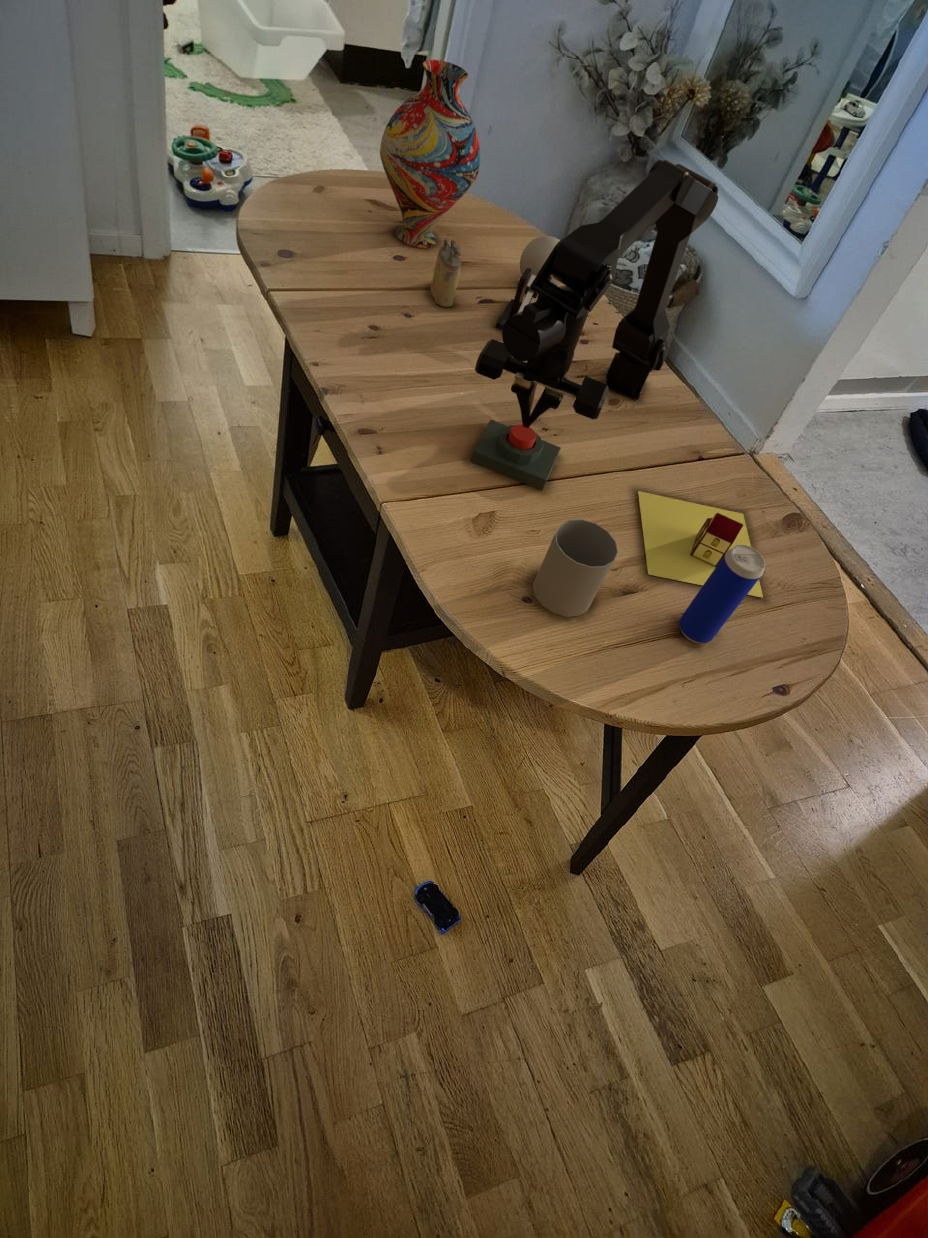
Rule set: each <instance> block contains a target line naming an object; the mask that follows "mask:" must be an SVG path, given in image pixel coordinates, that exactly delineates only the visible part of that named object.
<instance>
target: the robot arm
mask: <svg viewBox="0 0 928 1238" xmlns="http://www.w3.org/2000/svg"><path fill="white" fill-rule="evenodd" d="M718 201H719V187H718V186H717V184H716V182H713V181H712V180H710V179H709V178H707V177H705V176H702V175H701V174H699V173H697V172H695V171H693V170H692V169H690V168H688V167H687V166H685V165H683V164H681V163H677V164H674V163H672V162H671V161H669V160H667V159H664V160H663V159H658V160H657V161H656V162H655V163H653V164H652V166H651V168H650V170H649V172H648V174H647V175H646V177H645V178H644V179H643V180H642V181H641V182H639V183H638V184H637V185H636V186H635V187H634V188H633V189H632V190H631V191H630V192H629V193H628V194H627V195H626V196H625V197H624V198H622V200H621V201H620V202H618V204H616V205H615V206H614V207H613V209H611V210H610V211H609V212H608V213H607V214H606V215H605V216H604V217H603V218H601V220H599V221H597V222H594V223H593V222H592V223H587V224H581V225H580V226H578V227H577V228H575V229H574V230H572V231H571V232H569V234H567V235H566V236H565V237H564V238H561V239H559V240H560V241H559V242H558V243H557V244H556V246H555V247H554V249H553V250H552V252H551V253H550V255H549V257H548V258H547V260H546V261H545V263H544V265H543V266H542V268H541V269H540V271H539V273H538V274H537V276H536V277H535V279H534V280H533V282H532V284H531V285H530V289H531V290H532V291H534V292H536V293H537V294H539V295H537V297H536V301H534V302H530V304H528V305H525V306H524V308H523V311H521V312H519V313H517V314H515V315H513V316H511V317H510V318H509V319H508V320H507V321H506V322H505V323H504V325H503V329H502V330H501V338H502V341H499V340H497V339H495V338H492V339H490V340H488V341H487V342H486V343H485V345H484V347H483V348H482V350H481V351H480V353H479V354H478V357H477V359H476V363H475V367H474V371H475V373H476V374H478V375H480V376H483V377H486V378H488V379H490V380H493V381H494V380H497V379H499V378H501V377H502V375H503V371H506V372H509V373H511V374H513V375H514V381H513V382H512V384H511V387H510V392H512V393H513V394H515V395H516V399H517V403H518V405H519V410H520V417H521V422H522V424H521V425H523V427H526V428H529V427H530V428H531V426H532V425H533V423H534V422H535V421H537V419H539V417H540V416H541V415H543V414H545V412H547V411H548V410H550V409H553V410H558V409H559V407H560V405H561V403H562V401H563V398H564V397H565V396H567V397H569V398H572V399H574V401H573V404H572V408H573V410H574V412H575V413H576V414H578V415H580V416H583V417H585V418H588V419H591V420H598V418H599V416H600V414H601V411H602V409H603V407H604V404H605V402H606V399H607V396H608V394H609V391H610V390H611V391H612V392H613V391H614V392H616V393H619V394H621V395H623V396H625V397H629V398H631V399H632V400H633V399H634V400H636V401H637V400H639V399H640V396H641V394H642V390H643V388H644V386H645V383H646V382H647V379H648V377H649V375H650V373H651V372H653V371H661V369H662V367H663V366H664V363H665V362H666V360H667V357H668V355H669V353H670V350H669V341H668V335H669V332H670V328H671V325H670V321H669V319H668V315H667V312H666V309H667V306H668V303H669V300H670V298H671V294H672V291H673V288H674V285H675V282H676V279H677V276H678V273H679V271H680V268H681V264H682V261H683V258H684V256H685V252H686V250H687V246H688V243H689V240H690V237H691V235H692V234H693V233H694V232H695V231H696V230H698V228H700V227H701V226H702V225H703V224H704V223H705V222H707V221H708V220H709V218H710V216H711V215H712V214H713V212H714V210H715V208H716V207H717V204H718ZM653 225H655V228H656V234H655V238H654V241H653V245H652V249H651V252H650V256H649V257H648V262H647V266H646V269H645V273H644V276H643V279H642V283H641V287H640V290H639V293H638V296H637V300H636V303H635V306H634V307H633V308H632V309H631V310H630V311H629V312H628V313H627V314H625V315H624V316H623V318H621V320H620V321H619V322H618V324H617V327H616V328H615V332H614V336H613V341H612V345H611V348H612V349H614V350H616V352H614V355H613V357H612V360H611V362H610V365H609V367H608V369H607V372H606V374H605V380H606V381H605V383H604V382H602V381H600V380H598V379H595V378H593V377H589V376H587V375H584V377H583V380H582V383H581V384H580V383H578V382H575V381H572V380H571V377H570V376H568V375H567V374H568V372H569V371H570V368H571V366H572V362H573V360H574V357H575V351H576V348H577V345H578V342H579V340H580V338H581V335H582V333H583V332H582V331H583V329H584V327H585V324H586V321H587V318H588V315H589V313H591V312H592V310H593V309H594V308H595V307H596V305H597V304H598V303H599V301H600V300H601V298H602V297H603V296H604V295H605V293H607V290H608V289H609V288H610V286H611V285H612V284H613V280H614V278H615V276H616V274H617V273H616V272H617V267H618V261H619V259H620V258H621V256H623V254H625V252H626V251H627V250H628V249H629V248H631V246H632V245H633V244H634V243H636V241H638V239H640V238H641V236H642V235H644V233H646V232H647V231H648V230H649V229H650V228H651V227H652V226H653ZM551 275H552V276H553V278H554V279H556V280H558V281H559V282H561V283H563V284H562V285H564V286H560V287H558V286H557V285H555V284H553V283H552V282H550V281H549V280H548V279H549V278H550V277H551ZM538 385H540V386H541V387H544V388H543V391H542V392H541V394H540V395H539V398H538V400H537V402H536V403H535V405H534V407H533V403H534V399H535V394H536V390H537V387H538Z"/></svg>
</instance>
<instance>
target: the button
mask: <svg viewBox="0 0 928 1238" xmlns="http://www.w3.org/2000/svg"><path fill="white" fill-rule="evenodd" d="M513 425H514V426H513V427H512V428H511V430H510V433H509V436H508V441H509V443H510V444H511V445H512V446H513V447H515V448H518V449H520V450H529V449H531V448H532V447H533V444H534V442H535V439H536V433H537V432H536V431H535V430H534V429H533V428H532V427H531V426H530V427H529V428H526V427H523V424H513Z"/></svg>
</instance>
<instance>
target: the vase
mask: <svg viewBox="0 0 928 1238" xmlns="http://www.w3.org/2000/svg"><path fill="white" fill-rule="evenodd" d="M422 66H423V69H424V72H425V75H426V80H425V84H424V86H423V88H422V89H420V90H419V91H418V92H416V93H415V94H413V95H412V96H410V97H408V98H407V99H406V100H405V101H403V102H402V103H401V105H400V106H398V108H396V110H395V111H394V112H393V114H392V115H391V116H390V118H389V120H388V122H387V124H386V126H385V128H384V131H383V133H382V136H381V141H380V146H379V157H380V160H381V164H382V168H383V170H384V173H385V175H386V178H387V181H388V183H389V185H390V188H391V190H392V193H393V195H394V198H395V201H396V202H397V206H398V208H399V211H400V214H401V219H402V226H399V227H398V228H397V229H396V230H395V235H396V238H398V240H400V241H401V242H403V243H404V244H406V245H408V246H411V247H415V248H420V249H421V248H422V249H426V248H431V247H434V246H435V245H437V237H436V236H435V235H434V233H433V230H434V229H435V227H436V225H437V224H438V222H440V220H441V219H442V218H443V217H444V216H445V215H446V214H447V213H448V212H449V211H450V210H451V209H452V207H453V206H455V204H456V203H458V201H459V200H460V199H462V197H464V195H466V193H467V192H468V191H469V190H470V188H471V187H472V186H473V185H474V184H475V182H476V180H477V179H478V175H479V171H480V164H481V148H480V141H479V136H478V133H477V129H476V126H475V123H474V121H473V119H472V117H471V116H470V113H469V111H468V110H467V108H466V107H465V105H464V104H463V101H462V100H461V97H460V89H461V86H462V84H463V83H464V82H465V81H466V80H467V79H468V77H469V74H468V72H467V71H466V70H465V69H464V68H462V67H461V66H459V65H457V64H455V63H453V62H449V61H445V60H440V59H427V60H424V61H423V63H422Z"/></svg>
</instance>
